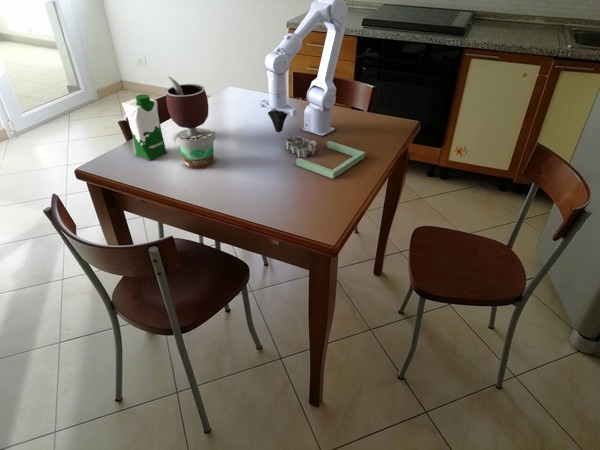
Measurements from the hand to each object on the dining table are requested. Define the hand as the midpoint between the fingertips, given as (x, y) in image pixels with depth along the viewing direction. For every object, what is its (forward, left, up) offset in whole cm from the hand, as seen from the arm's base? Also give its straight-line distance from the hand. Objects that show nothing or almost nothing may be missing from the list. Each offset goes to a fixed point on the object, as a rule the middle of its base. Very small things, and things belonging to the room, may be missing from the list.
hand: (278, 131), depth 146 cm
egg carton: (+10, 0, -5) cm, 11 cm away
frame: (+22, 0, -5) cm, 22 cm away
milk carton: (-28, -33, -5) cm, 44 cm away
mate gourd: (-29, -15, -5) cm, 33 cm away
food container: (-8, -28, -5) cm, 30 cm away
